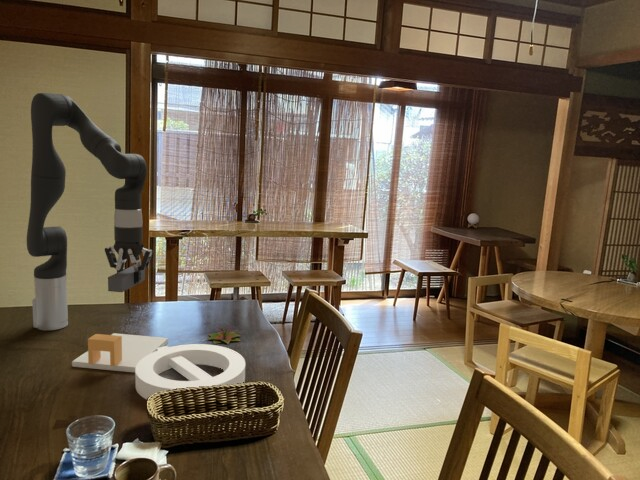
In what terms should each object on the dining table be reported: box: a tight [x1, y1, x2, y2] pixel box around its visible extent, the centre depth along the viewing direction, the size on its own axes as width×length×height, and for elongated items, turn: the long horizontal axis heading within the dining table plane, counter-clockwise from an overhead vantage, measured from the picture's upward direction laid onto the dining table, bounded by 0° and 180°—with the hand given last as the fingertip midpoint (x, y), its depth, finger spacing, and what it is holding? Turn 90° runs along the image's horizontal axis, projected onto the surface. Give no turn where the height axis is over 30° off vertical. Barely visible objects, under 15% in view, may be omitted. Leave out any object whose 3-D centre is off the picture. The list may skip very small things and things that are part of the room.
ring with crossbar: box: [134, 343, 246, 400], centre depth 130 cm, size 28×28×5 cm
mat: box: [71, 332, 169, 373], centre depth 144 cm, size 18×22×2 cm
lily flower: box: [206, 325, 241, 345], centre depth 160 cm, size 12×12×5 cm
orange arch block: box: [87, 333, 122, 366], centre depth 133 cm, size 7×4×7 cm, turn 84°
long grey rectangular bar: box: [107, 265, 146, 293], centre depth 141 cm, size 4×14×4 cm, turn 174°
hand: (129, 282), depth 142 cm, fingers closed on long grey rectangular bar, 4 cm apart
